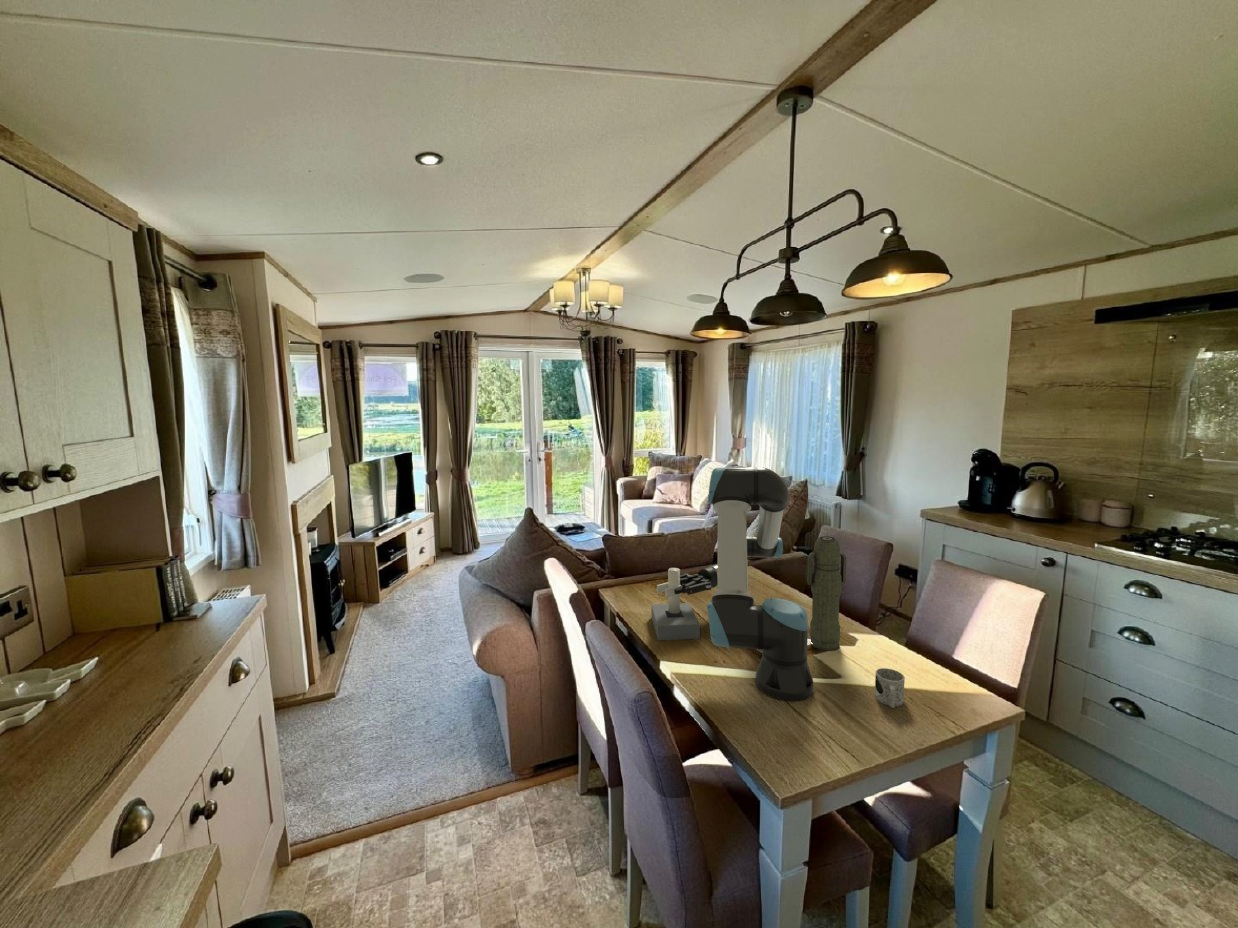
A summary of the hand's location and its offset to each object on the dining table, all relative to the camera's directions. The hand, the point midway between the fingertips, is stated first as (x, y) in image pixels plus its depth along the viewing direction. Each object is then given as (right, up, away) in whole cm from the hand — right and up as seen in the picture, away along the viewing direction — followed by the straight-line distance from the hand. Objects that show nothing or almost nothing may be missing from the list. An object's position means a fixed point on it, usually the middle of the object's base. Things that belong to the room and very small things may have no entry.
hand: (661, 591), depth 171 cm
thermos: (+52, -15, -10) cm, 55 cm away
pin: (+5, -8, +4) cm, 10 cm away
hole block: (+5, -14, +4) cm, 15 cm away
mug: (+55, -18, -42) cm, 72 cm away
